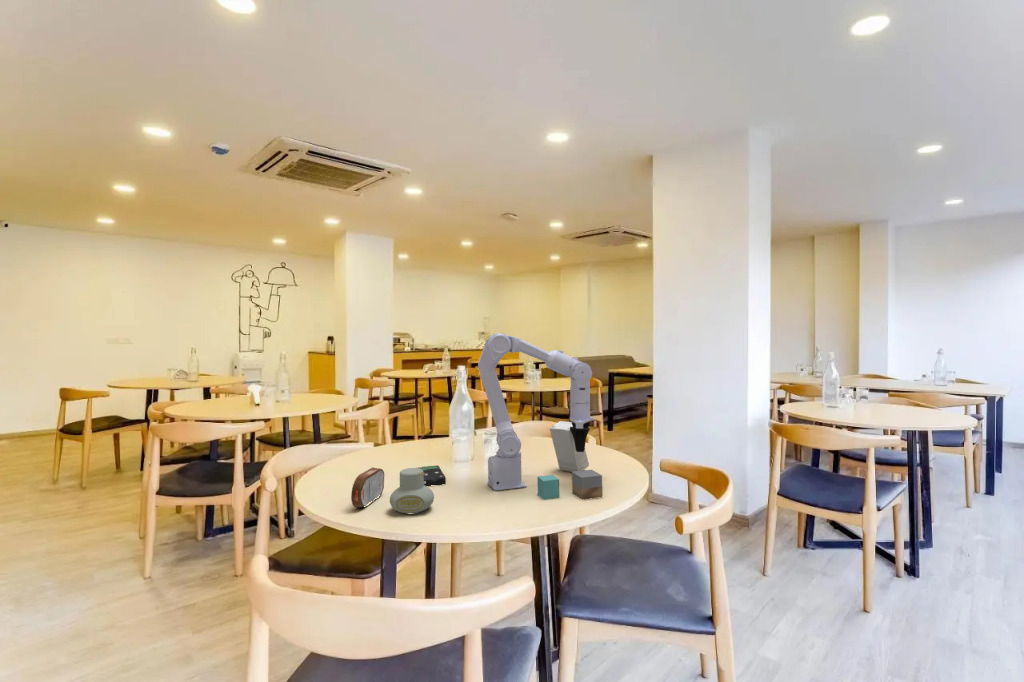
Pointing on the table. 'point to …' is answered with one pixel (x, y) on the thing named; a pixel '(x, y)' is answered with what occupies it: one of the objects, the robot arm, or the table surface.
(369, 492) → the tin
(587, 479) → the tower top
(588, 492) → the tower bottom
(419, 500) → the air freshener
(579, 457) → the skincare box
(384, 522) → the table surface
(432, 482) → the disk drive
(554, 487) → the teal block
